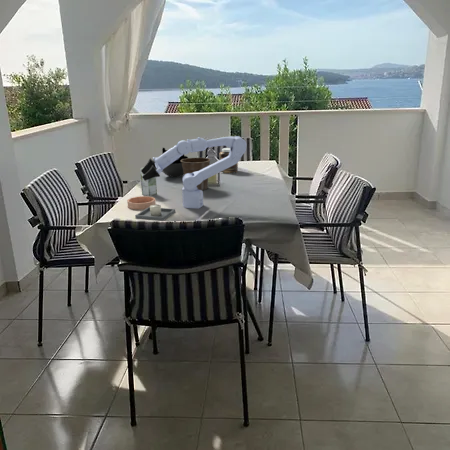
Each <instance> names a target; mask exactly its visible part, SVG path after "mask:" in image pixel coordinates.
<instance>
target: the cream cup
mask: <svg viewBox="0 0 450 450" xmlns="http://www.w3.org/2000/svg"><path fill="white" fill-rule="evenodd" d="M161 208H162V206H161V204H156V205H151V206H150V215H151V216H160V215H161Z"/></svg>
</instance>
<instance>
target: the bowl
mask: <svg viewBox="0 0 450 450" xmlns="http://www.w3.org/2000/svg"><path fill="white" fill-rule="evenodd" d="M126 201H127V208H129V209H131V210H145V209H146V208H148V207H150V206H151V205H157V203H156V198H155V197H153V196H147V195H141V196H135V197H134V196H133V197H130V198H128V199H127V200H126Z"/></svg>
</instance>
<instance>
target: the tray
mask: <svg viewBox="0 0 450 450" xmlns="http://www.w3.org/2000/svg"><path fill="white" fill-rule="evenodd" d="M174 213H176V208H166V207H161V215H160V216H151V215H150V207H148V208H146V209H142V210H141V211H140V212H139V213H137V214H135V219H142V220H153V221H154V220H155V221H157V220H158V221H165V220H166V219H168V218H169V217H170V216H171V215H173V214H174Z"/></svg>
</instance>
